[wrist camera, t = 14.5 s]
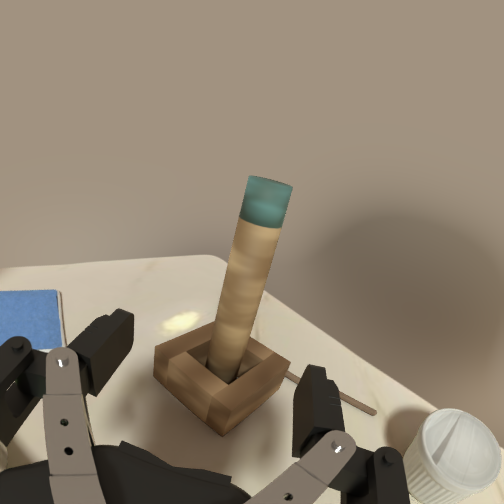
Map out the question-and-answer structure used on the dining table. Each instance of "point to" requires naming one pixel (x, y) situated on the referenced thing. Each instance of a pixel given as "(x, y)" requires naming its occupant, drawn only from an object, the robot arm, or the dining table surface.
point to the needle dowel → (246, 273)
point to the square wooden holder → (209, 385)
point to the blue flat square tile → (32, 318)
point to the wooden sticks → (342, 396)
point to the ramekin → (451, 458)
